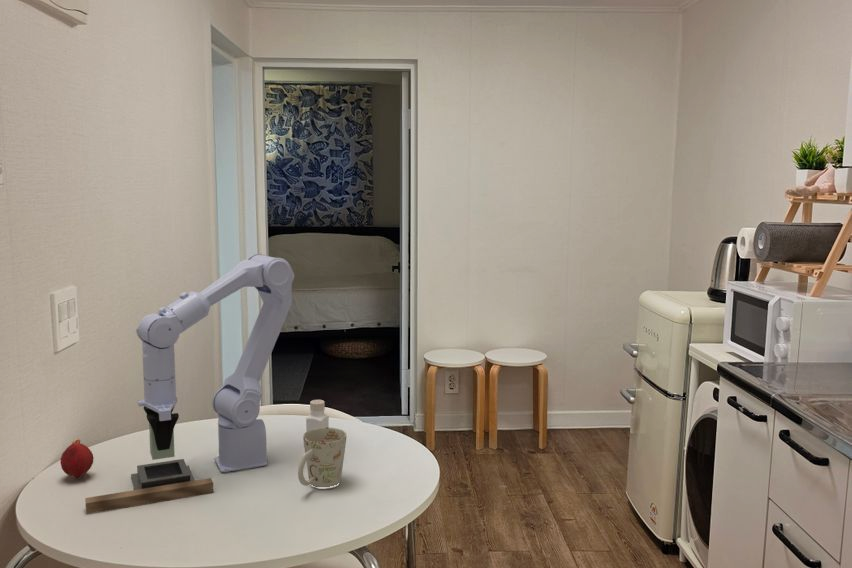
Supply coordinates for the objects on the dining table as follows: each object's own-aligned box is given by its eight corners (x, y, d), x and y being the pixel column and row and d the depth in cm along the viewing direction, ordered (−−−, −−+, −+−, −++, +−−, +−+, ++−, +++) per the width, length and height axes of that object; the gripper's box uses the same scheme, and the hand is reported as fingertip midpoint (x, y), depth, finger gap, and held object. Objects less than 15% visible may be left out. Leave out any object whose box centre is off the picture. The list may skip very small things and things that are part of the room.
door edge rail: (211, 487, 143) (210, 477, 143) (213, 492, 141) (213, 482, 141) (85, 508, 134) (85, 498, 134) (86, 514, 132) (85, 503, 131)
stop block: (171, 449, 147) (170, 420, 146) (174, 456, 143) (173, 426, 142) (150, 452, 145) (149, 423, 144) (152, 459, 142) (151, 429, 141)
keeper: (188, 468, 152) (188, 456, 152) (197, 489, 143) (197, 476, 142) (131, 477, 148) (130, 464, 147) (136, 499, 138) (135, 486, 137)
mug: (354, 479, 148) (354, 431, 147) (319, 504, 137) (319, 453, 135) (318, 471, 152) (318, 424, 150) (282, 495, 140) (281, 445, 139)
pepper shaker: (321, 446, 165) (320, 405, 164) (305, 444, 167) (304, 403, 165) (329, 440, 169) (329, 400, 168) (314, 438, 170) (313, 398, 169)
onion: (81, 485, 143) (79, 446, 142) (55, 482, 144) (52, 443, 143) (100, 473, 149) (98, 435, 148) (74, 471, 150) (72, 433, 149)
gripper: (133, 369, 147) (136, 435, 149) (140, 389, 134) (143, 461, 136) (171, 366, 150) (173, 430, 152) (181, 385, 137) (184, 455, 139)
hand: (162, 445), depth 144 cm, fingers closed on stop block, 4 cm apart
